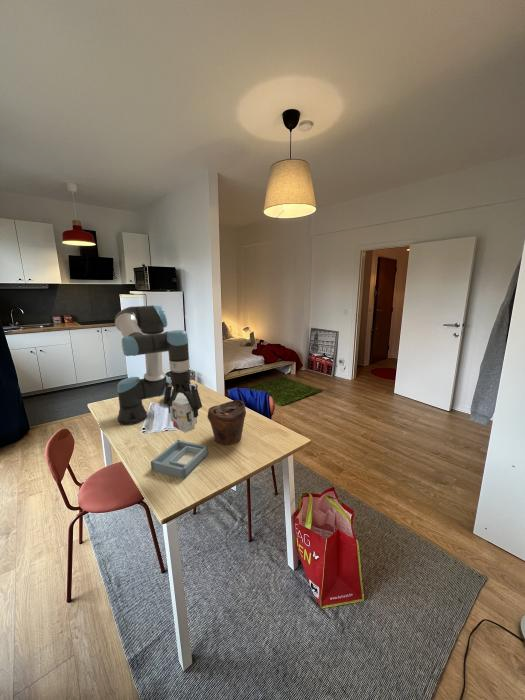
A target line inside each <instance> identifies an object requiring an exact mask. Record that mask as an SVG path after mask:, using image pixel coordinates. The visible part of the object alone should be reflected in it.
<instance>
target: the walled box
mask: <svg viewBox="0 0 525 700" xmlns="http://www.w3.org/2000/svg"><path fill="white" fill-rule="evenodd" d="M208 455H209V446H208V445H204V444H199V443H194V442H189V441H185V440H180V439H177V440H176V441H174V442H173V443H171V445H170V446H169V447H167V448H166V449H164V450H163V451H162V452H161V453H160V454H158V456H156V457H155V458H154V459H152V460H151V461H150V468H151V471H152V472H156V473H160V474H162V475H163V474H164V475H167V476H170V477H175V478H179V479H182V480H186V479H187V477H188V476H189V475H190V474H191V473H193V471H194V470H195V469H196V468H197V467H198V466H199V464H200V463H202V462H203V460H205V458H206V457H207V456H208Z"/></svg>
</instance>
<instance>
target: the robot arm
mask: <svg viewBox="0 0 525 700" xmlns="http://www.w3.org/2000/svg"><path fill="white" fill-rule="evenodd" d="M114 326H115V328H116V329H117V330H118V331H119V332H121V335H122V336H123V337H122V338H121V348H122V352H123V355H124V356H125V357H130V356H131V357H136V356H141V355H145V369H146V370H145V373H144V374H143V378H140V377H139V376H131V377H127V378H126V377H125V378H124V379H121V380H120V381H119V382H118V383H117V385H116V388H117V390H116V391H117V396H118V403H119V404H118V405H119V410H118V415H117V423H118V424H120V425H123V426H124V425H127V426H128V425H129V426H130V425H136V424H139V423H142V422H143V421H144V420H146V419H147V416H148V415H147V410H146V409H145V406H144V405H143V400H147V399H152V398H158V397H162V396H163V404H164V405H165V404H167V405H168V406H167V405H166V406H167V408H168V413H169V414H170V422H171V423H173V408H172V401H173V400H175V399H176V397H177V394H178V393H183V394H184V396H186V398H187V400H188V402H189V404H190V406H191V408H192V410H191V420H192V426H194V425H197V424H198V416H199V410H200V409H201V408H202V407H203V404H202V401H201V397H200V393H199V389H198V384H197V383H195V384H194V383H193V384H192V383H191V370H190V354H189V353H190V352H189V339H188V338H189V337H188V333H187V331H186V330H182V329H178V330H177V329H176V330H175V329H174V330H170V331H165V328H167V327H168V318H167V314H166V311H165V309H164V308H163V306H162V305H144V306H143V305H141V306H140V305H139V306H128V307H125V308H124V309H122V310H120V311H118V313H117V314H116V315H115V318H114ZM164 352H165V353H166V352H168V353H167V354H168V360H169V364H168V365H169V370H170V371H169V375H170V380H169V377H168V375H167V374H166V373H165V372H164V371H163V353H164ZM190 388H191V389H190ZM172 389H173V391H172V395H171V390H172ZM187 391H188V392H187ZM186 392H187V393H186ZM191 392H192V393H191ZM164 395H165V397H164Z"/></svg>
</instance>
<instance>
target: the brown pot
mask: <svg viewBox="0 0 525 700" xmlns="http://www.w3.org/2000/svg"><path fill="white" fill-rule="evenodd" d="M246 415H247V411H246V405H245V402H244V401H242V400H240V399H235V400H234V399H233V400H231V401H227V402H225V403H221V404H219V405H214V406H211V407H209V408H208V411H207V419H208V421H209V423H210V426H211V431H212V432H213V436H214V441H215V442H216V443H217V444H220V445H223V446H224V445H233V444H235V443H238V442H239V441H240V440H241V438H242V436H243V432H244V431H243V430H244V429H243V428H244V423H245V419H246Z"/></svg>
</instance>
